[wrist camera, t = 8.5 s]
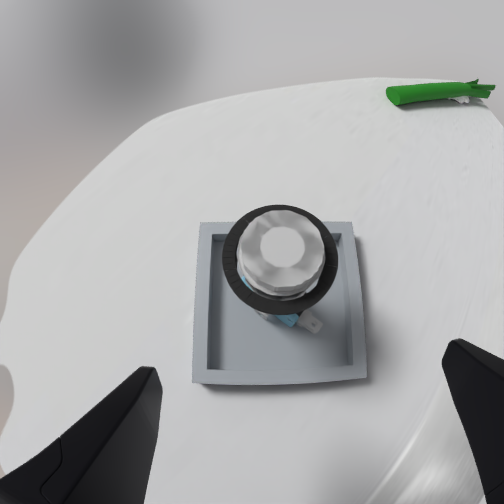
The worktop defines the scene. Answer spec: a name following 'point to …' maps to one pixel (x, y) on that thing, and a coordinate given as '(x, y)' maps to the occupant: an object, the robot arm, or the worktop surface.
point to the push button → (281, 263)
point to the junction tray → (275, 324)
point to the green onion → (438, 92)
